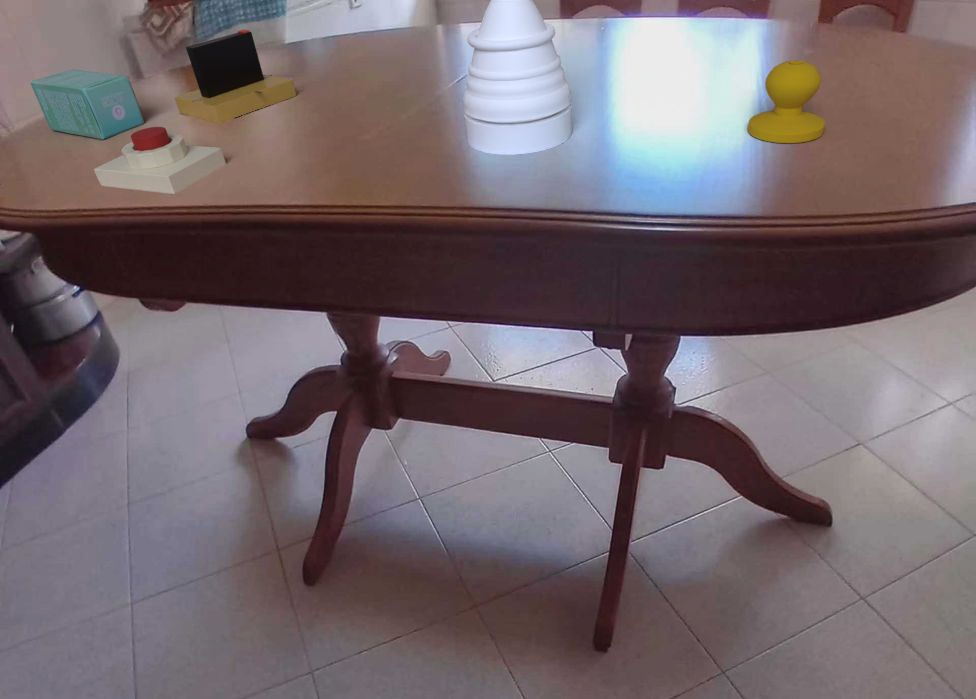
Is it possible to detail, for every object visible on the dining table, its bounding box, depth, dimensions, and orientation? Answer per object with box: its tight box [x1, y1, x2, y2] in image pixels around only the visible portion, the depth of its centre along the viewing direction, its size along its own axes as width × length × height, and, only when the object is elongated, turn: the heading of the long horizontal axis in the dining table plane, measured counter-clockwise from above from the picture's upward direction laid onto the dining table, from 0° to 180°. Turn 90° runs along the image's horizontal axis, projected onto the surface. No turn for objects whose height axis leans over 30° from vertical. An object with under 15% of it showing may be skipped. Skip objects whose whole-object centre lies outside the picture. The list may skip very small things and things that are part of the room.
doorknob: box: [747, 59, 826, 144], centre depth 77 cm, size 8×8×8 cm
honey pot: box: [462, 0, 573, 156], centre depth 81 cm, size 13×13×18 cm
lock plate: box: [173, 74, 297, 124], centre depth 108 cm, size 14×14×3 cm
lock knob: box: [185, 29, 264, 98], centre depth 105 cm, size 10×2×7 cm, turn 141°
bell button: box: [130, 126, 171, 151], centre depth 83 cm, size 4×4×2 cm
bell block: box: [93, 132, 227, 195], centre depth 85 cm, size 12×9×4 cm
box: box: [29, 68, 145, 141], centre depth 103 cm, size 7×14×8 cm, turn 59°
